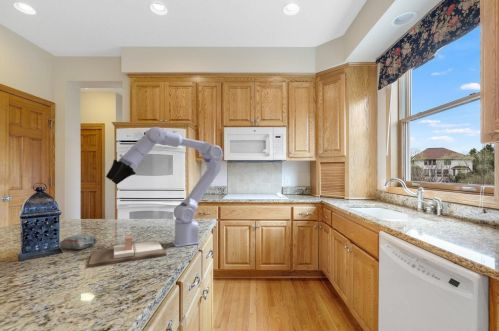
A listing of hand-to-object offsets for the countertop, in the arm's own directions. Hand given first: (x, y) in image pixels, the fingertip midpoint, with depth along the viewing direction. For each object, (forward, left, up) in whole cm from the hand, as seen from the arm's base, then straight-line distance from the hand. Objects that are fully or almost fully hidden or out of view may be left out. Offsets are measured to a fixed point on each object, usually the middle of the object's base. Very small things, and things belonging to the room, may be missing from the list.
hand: (111, 180), depth 87 cm
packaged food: (+11, -14, -27) cm, 32 cm away
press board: (-6, +3, -26) cm, 27 cm away
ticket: (-12, +3, -26) cm, 29 cm away
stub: (-5, +3, -25) cm, 26 cm away
